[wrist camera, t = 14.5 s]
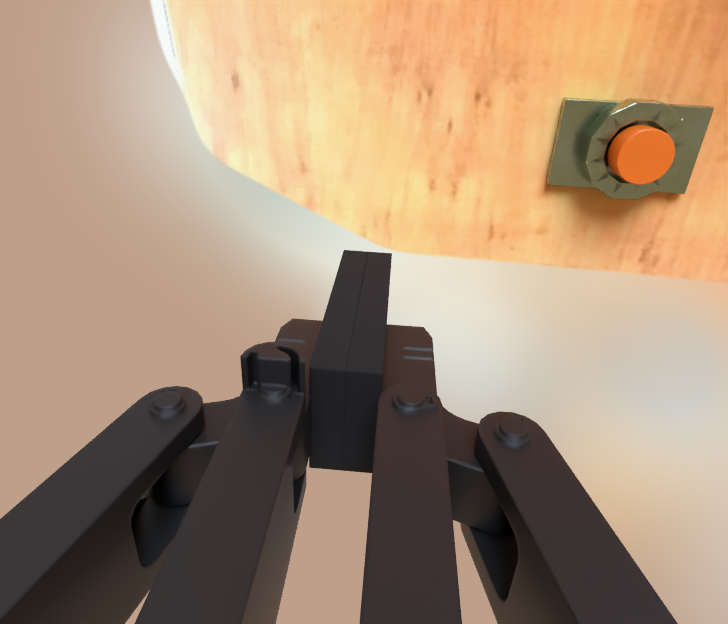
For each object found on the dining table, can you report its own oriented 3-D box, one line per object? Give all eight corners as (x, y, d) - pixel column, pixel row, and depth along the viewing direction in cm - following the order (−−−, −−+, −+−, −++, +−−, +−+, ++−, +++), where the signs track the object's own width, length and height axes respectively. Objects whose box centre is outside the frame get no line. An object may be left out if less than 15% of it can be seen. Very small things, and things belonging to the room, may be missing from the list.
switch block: (544, 185, 40) (552, 194, 37) (564, 94, 37) (573, 97, 34) (679, 194, 39) (695, 204, 37) (710, 102, 36) (729, 106, 34)
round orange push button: (601, 175, 37) (610, 183, 35) (615, 122, 35) (625, 127, 33) (653, 179, 37) (665, 186, 35) (669, 126, 35) (683, 130, 33)
